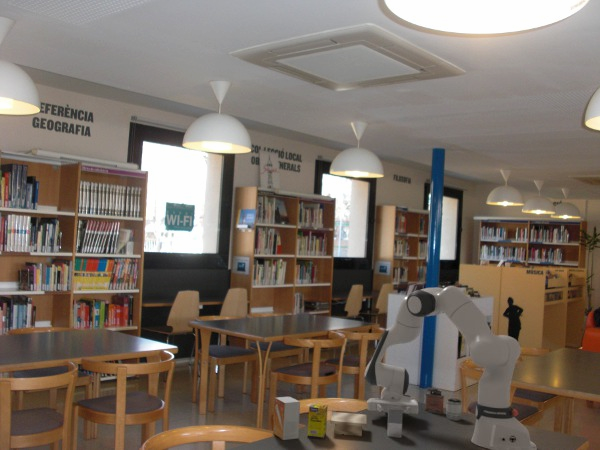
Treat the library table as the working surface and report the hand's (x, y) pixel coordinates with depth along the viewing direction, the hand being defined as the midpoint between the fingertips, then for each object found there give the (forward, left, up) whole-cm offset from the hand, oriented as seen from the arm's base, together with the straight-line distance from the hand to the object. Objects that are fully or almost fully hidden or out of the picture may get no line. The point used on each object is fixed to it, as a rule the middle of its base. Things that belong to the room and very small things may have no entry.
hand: (393, 410), depth 251 cm
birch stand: (+17, +12, -6) cm, 22 cm away
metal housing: (0, +12, -6) cm, 13 cm away
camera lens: (-26, -20, -6) cm, 33 cm away
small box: (+39, +25, -6) cm, 47 cm away
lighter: (-19, -29, -6) cm, 35 cm away
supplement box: (+28, +22, -6) cm, 36 cm away
